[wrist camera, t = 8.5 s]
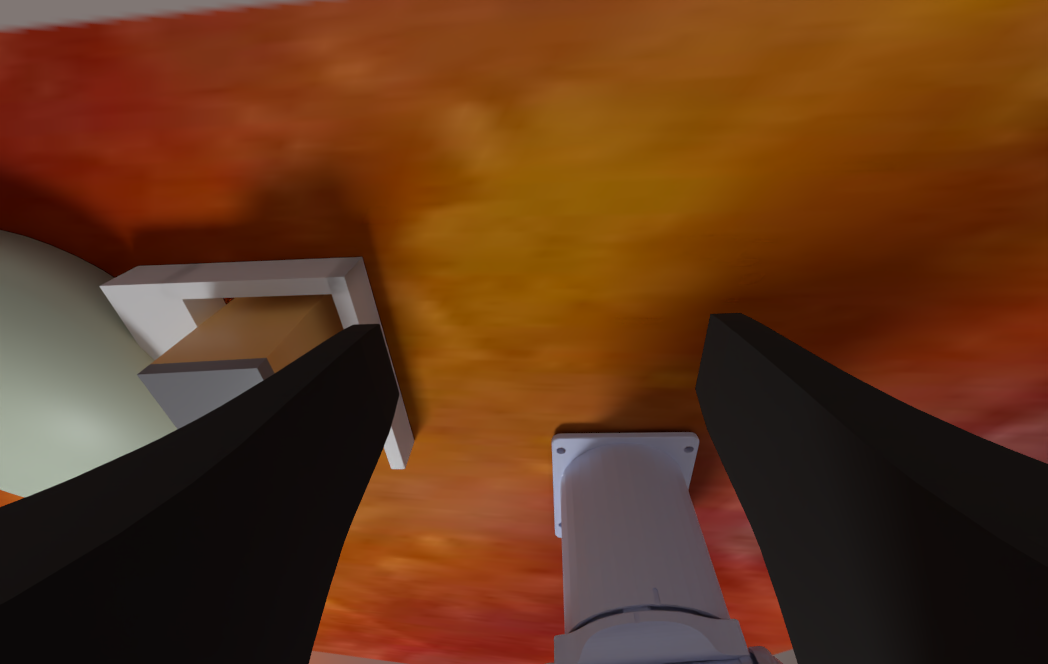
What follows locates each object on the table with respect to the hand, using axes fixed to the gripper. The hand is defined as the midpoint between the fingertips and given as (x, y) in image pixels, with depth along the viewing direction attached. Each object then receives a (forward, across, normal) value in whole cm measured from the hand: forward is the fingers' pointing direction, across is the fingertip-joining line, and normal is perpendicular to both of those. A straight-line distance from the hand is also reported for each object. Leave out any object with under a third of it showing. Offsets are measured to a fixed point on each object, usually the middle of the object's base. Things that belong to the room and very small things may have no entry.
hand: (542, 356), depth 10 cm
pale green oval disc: (+9, +21, +7) cm, 24 cm away
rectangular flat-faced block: (+10, +12, +7) cm, 17 cm away
